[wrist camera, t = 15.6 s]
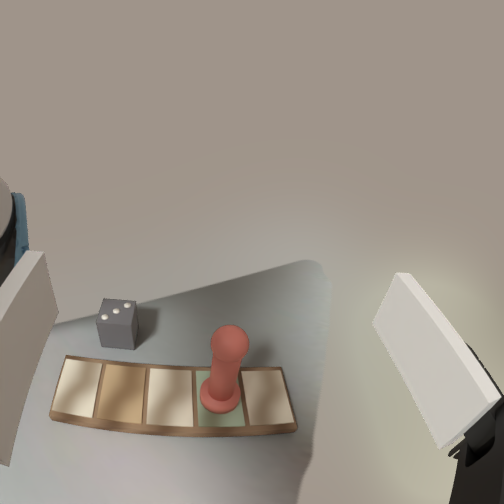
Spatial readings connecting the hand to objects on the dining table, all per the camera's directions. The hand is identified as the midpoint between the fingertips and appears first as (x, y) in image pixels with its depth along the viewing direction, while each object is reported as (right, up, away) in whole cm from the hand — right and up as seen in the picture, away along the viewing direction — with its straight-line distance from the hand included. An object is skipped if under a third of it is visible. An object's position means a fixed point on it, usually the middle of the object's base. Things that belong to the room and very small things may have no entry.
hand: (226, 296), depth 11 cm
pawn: (-3, -16, +25) cm, 30 cm away
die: (-19, -11, +32) cm, 38 cm away
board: (-9, -17, +24) cm, 31 cm away
